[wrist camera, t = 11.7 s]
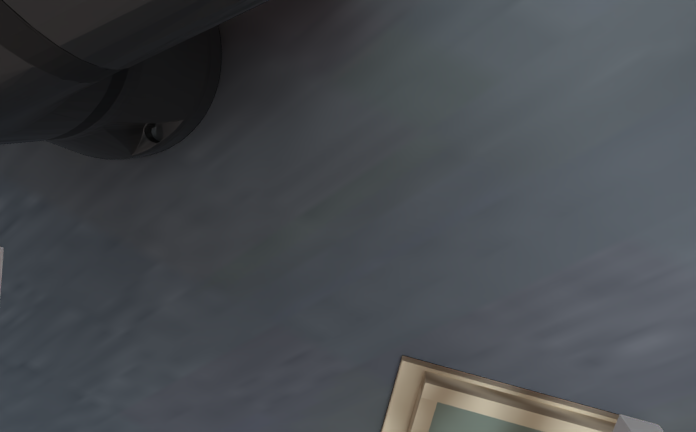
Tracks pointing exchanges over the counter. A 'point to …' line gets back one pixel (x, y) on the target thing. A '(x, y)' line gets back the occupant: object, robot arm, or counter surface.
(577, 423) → the picture frame
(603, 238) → the counter surface
